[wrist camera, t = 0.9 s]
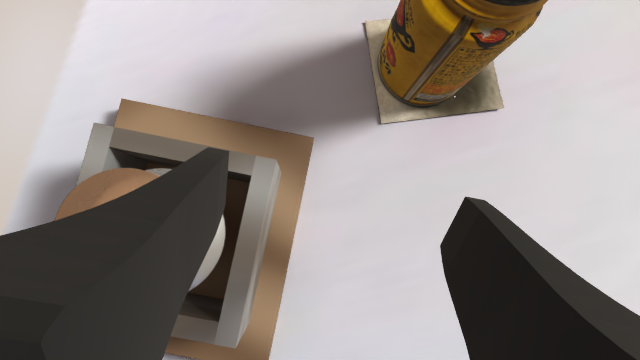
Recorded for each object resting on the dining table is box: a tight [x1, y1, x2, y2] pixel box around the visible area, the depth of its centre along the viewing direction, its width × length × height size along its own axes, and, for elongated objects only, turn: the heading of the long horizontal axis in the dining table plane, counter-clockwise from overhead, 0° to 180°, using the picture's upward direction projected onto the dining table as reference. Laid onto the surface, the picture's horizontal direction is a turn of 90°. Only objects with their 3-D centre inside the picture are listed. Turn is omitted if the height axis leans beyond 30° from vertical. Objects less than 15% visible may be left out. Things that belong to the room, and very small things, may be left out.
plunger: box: [54, 168, 226, 291], centre depth 15 cm, size 6×6×4 cm
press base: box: [76, 99, 314, 360], centre depth 21 cm, size 14×12×6 cm
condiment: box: [365, 0, 548, 124], centre depth 20 cm, size 7×8×12 cm
